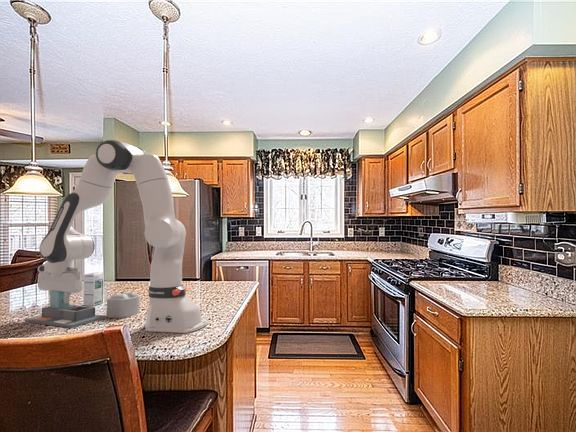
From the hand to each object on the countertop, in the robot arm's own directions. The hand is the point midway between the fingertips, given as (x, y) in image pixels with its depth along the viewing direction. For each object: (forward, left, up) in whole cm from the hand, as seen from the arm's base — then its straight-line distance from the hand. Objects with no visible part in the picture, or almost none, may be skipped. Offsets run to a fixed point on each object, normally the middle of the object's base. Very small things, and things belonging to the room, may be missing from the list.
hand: (59, 302), depth 134 cm
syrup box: (+9, -23, -6) cm, 26 cm away
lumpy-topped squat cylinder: (-18, -15, -6) cm, 24 cm away
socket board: (-5, +1, -6) cm, 8 cm away
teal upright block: (0, 0, -3) cm, 3 cm away
